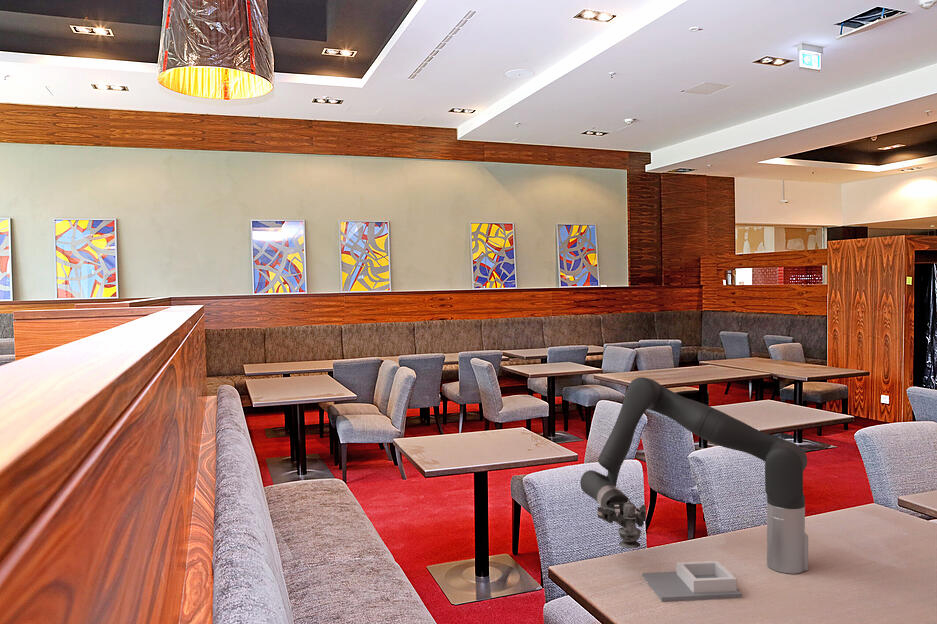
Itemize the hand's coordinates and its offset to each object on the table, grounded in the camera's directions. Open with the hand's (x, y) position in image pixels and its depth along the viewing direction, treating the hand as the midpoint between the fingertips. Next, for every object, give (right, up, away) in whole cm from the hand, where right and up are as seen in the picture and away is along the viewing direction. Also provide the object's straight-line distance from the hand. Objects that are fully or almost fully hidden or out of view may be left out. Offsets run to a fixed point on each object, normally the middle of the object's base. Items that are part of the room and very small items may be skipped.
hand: (632, 523), depth 172 cm
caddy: (+14, -16, -1) cm, 21 cm away
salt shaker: (0, -7, +3) cm, 7 cm away
